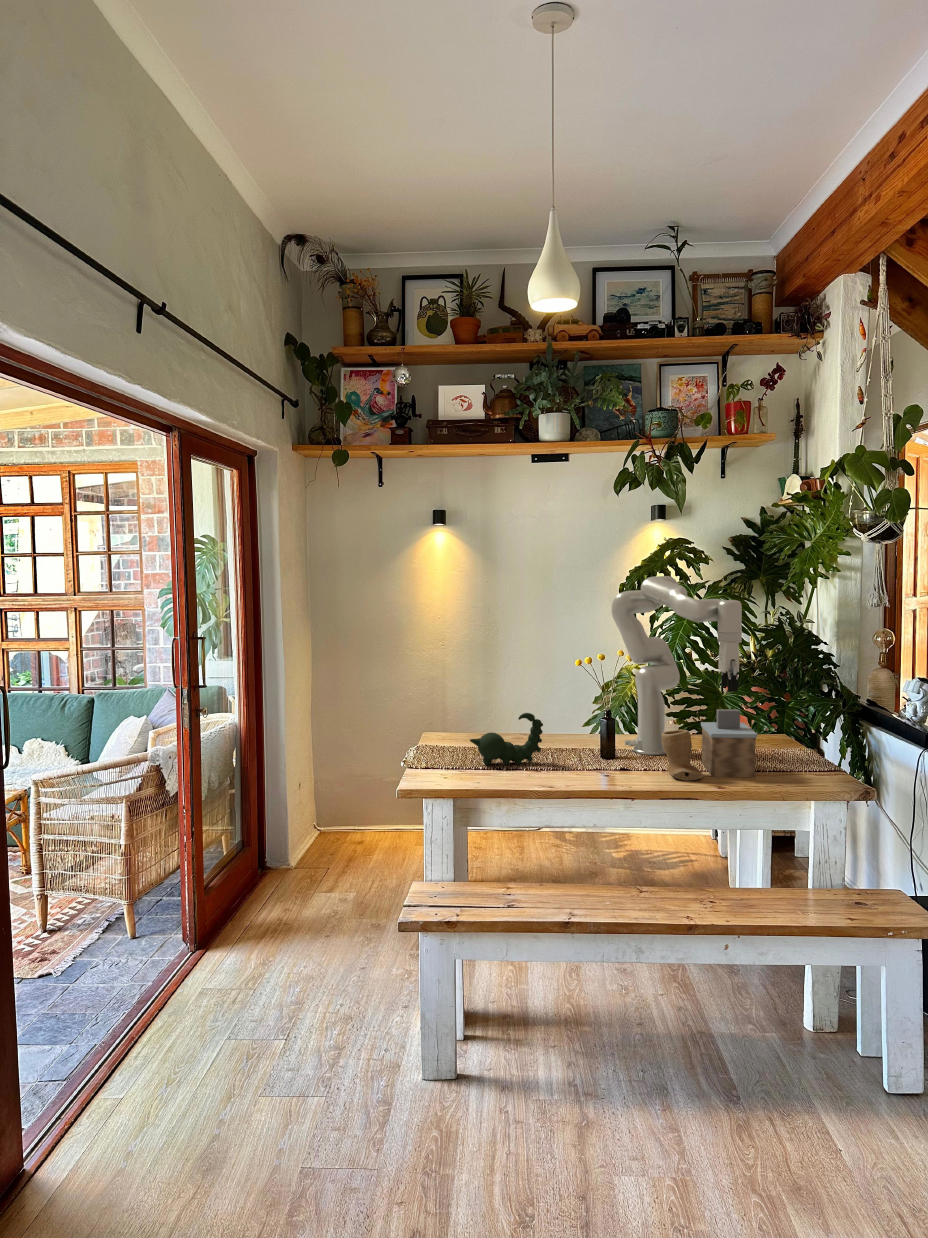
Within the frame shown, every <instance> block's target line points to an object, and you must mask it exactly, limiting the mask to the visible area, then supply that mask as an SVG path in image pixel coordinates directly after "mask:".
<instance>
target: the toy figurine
mask: <svg viewBox="0 0 928 1238" xmlns="http://www.w3.org/2000/svg"><path fill="white" fill-rule="evenodd" d="M522 719H526V720H527V721H529V722H530V723H531V727H530V733H529V735H528V736H527V741H526V742H525V744H522V745H520V744H514V743H512V742H510V741H505V739H504V738H503V736H502V735H500V734H499V733H496V732H493V731H492V732H487V733H484V734H483V735H482V736H481V737H479V738H470V739H469V741H470V742H471V743H472V744H474V745H475V746H476V747H477V749H478V750H477V751H478V752H479V754H480V756H481V757H482V762H483V764H484V765H487V766H490V765H492V763H493V761H495V760H501V761H502V763H503V764H504V765H509V763H510V762H513V763H515V765H517V766H520V765H522V762H523V761H524V760H526V761H527V762H529V763H531V762H533V760H534V758H533V753H535V752H536V753H540V752H541V751H542V749H541V747H540V746H539V743H542V742H543V740H542V738H541V735H542V734H543V730H542V727H543V726H544V723H543V721H542V720H540V719H539V718H536V716H535V714H533V713H530V712H524V713H522V714H520V715H519V716H518V720H519V721H520V720H522Z"/></svg>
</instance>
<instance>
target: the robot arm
mask: <svg viewBox="0 0 928 1238" xmlns="http://www.w3.org/2000/svg"><path fill="white" fill-rule="evenodd" d="M662 606H664V607H665V606H666V607H667V608H670V609H672V611H673V612H674V613H675V614H676V615H677V616H679V617H681V618H683V619H685V620H689V621H691V622H695V623H707V622H717V643H719V648H718V667H717V668H718V671H721V677H720V680H721V681H720V682H721V684H720V685H721V688H727V692H730V693H732V692H739V674H738V673H739V671H740V646H739V644H740V643H742V640H743V639H742V635H743V634H742V632H743V631H742V630H743V629H742V627H743V626H742V625H743V624H742V619H743V617H742V615H743V614H742V613H743V612H742V611H743V609H742V603H741V601H739V600H736V599H728V600H727V599H726V600H725V599H720V598H707V599H706V598H704V599H696V598H693V597H690V596H688V591H687V589H686V588H685V587H684V586H683V585H680V584H679V583H678V581H677V580H676V579H675V578H674V577H672V576H669V575H664V576H663V575H660V576H650V577H646V579H644V580H643V581H642V583H641V585H640V589H639V590H636V589H635V590H626V591H622V592H619V593H618V594H617V595H615V596H614V598H613V600H612V602H611V614H612V615H611V616H612V619H613V621H614V623H615V625H616V627H617V628H618V630H619V632H620V635H621V637H622V640H623V642H624V645H625V648H626V651H627V652H628V655H629V658H630V660H631V661H632V662H633V664H637V665H644V664H649V665H645V666H642V667H641V668H640V669H638V670H637V672H636V673H635V678H634V680H635V681H634V682H635V688H636V692H637V736H636V737H635V739H625V740H624V746H629V747H633V751H634V752H635V753H636V754H641V755H647V756H662V755H666V753H665V750H664V748H663V745H662V739H661V735H662V733H663V732H666V731H665V730H666V729H665V725H666V723H665V719H666V718H665V717H666V712H665V710H666V708H665V707H666V706H665V704H666V703H665V699H664V697H663V695H662V692H661V691H666V690H671V689H674V688H675V687H676V686H678V684H679V683H680V676H681V675H680V671H679V668H678V666H677V663H676V661H675V659H674V656H673V653H672V651H671V649H670V646H669V644H668V643H667V642H666V641H665V640H664V639H663V638H661V637H658V636H651V637H649V636H648V635H647V633H646V631H645V628H644V626H643V624H642V622H641V621H640V620H639V619H638V618H637V617H636V616H635V614H644V613H645V614H646V613H652V612H653V611H655V610H657V609H659V608H660V607H662ZM650 664H651V665H650Z"/></svg>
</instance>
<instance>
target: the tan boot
mask: <svg viewBox="0 0 928 1238" xmlns="http://www.w3.org/2000/svg"><path fill="white" fill-rule="evenodd" d="M691 737H692V736H691V733H690V731H689V730H687V729H675V730H668V731H667V730H666V731H665V732H663V733H662V735H661V739H662V745H663V748H664V750H665V753H666V754H665V755H666V757H667V759H668V766H667V767H666V771H667V772H668V773H669V775H671V776H672V777H673V778H674V779H678V780H681V781H686V782H689V781H697V780H698V779H702V778H703V777H704V775H703V774H702V772H701V771H700V770H699V769H698V767H696V766H695V765H694V764H692V763H691V756H692V755H691V754H692V748H693V745H692V744H693V742H692V738H691Z"/></svg>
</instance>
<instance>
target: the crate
mask: <svg viewBox="0 0 928 1238" xmlns="http://www.w3.org/2000/svg"><path fill="white" fill-rule="evenodd" d="M701 729H702V730H701V764H702V765H703V766H704V767H703V768H705V769H706V770H707V772H708V774H709V775H710V776H711V777H714V778H719V777H720V778H755V777H756V741H757V740H756V739H757V738H713V737H710V735H709V734H708V733H707V732H706V731H705V730H704V729H703V728H702V727H701Z"/></svg>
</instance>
